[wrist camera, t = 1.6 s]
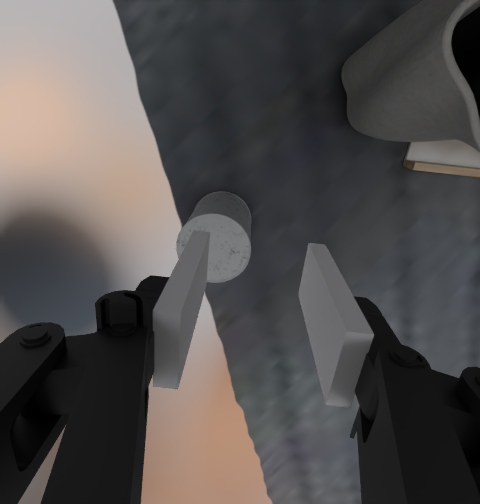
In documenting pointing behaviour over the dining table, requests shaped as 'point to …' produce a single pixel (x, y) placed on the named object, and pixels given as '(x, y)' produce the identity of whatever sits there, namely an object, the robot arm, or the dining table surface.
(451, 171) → the tray
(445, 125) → the vase
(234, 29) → the dining table surface
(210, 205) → the grey cylinder
